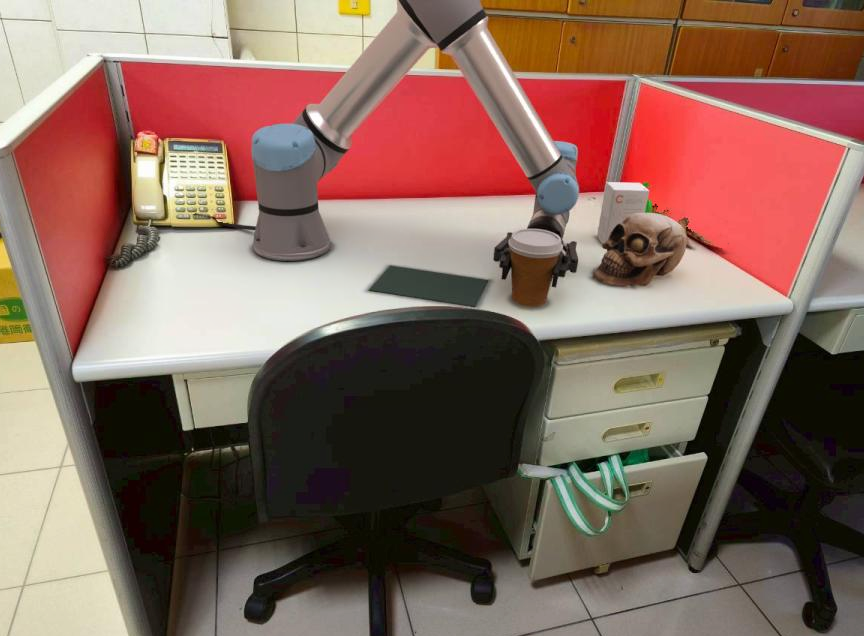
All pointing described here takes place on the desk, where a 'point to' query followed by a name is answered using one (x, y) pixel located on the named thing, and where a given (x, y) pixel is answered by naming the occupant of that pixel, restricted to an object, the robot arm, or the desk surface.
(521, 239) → the disposable coffee cup
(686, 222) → the brown jagged long piece
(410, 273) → the desk mat
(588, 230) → the desk surface
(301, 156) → the robot arm
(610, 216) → the small box
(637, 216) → the beige brown skull
